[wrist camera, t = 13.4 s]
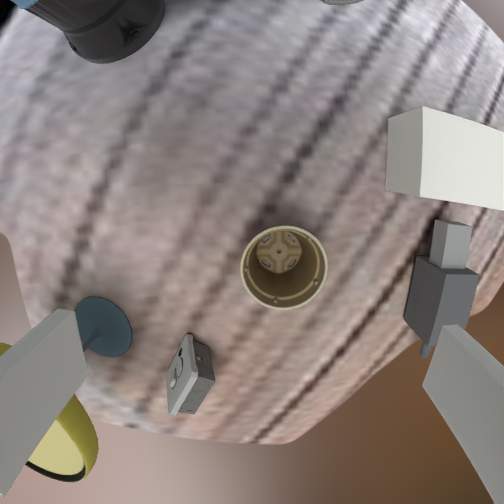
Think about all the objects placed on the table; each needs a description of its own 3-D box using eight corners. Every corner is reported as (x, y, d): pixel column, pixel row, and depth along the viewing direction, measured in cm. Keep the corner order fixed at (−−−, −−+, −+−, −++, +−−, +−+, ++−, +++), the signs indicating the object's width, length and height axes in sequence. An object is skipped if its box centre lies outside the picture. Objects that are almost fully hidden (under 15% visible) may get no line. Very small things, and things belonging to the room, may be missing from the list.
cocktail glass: (175, 353, 46) (124, 482, 22) (99, 384, 48) (37, 482, 24) (110, 253, 42) (-7, 332, 18) (41, 301, 44) (-55, 375, 20)
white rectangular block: (387, 118, 37) (422, 106, 27) (482, 142, 37) (524, 141, 27) (384, 190, 39) (419, 196, 29) (479, 204, 39) (520, 213, 29)
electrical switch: (187, 330, 45) (179, 368, 36) (219, 343, 46) (217, 383, 37) (166, 372, 47) (156, 412, 38) (195, 384, 48) (190, 424, 39)
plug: (421, 216, 39) (454, 227, 31) (453, 219, 39) (487, 230, 31) (397, 345, 44) (418, 374, 36) (427, 342, 44) (450, 369, 36)
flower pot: (257, 204, 40) (258, 212, 32) (324, 229, 41) (341, 244, 32) (233, 270, 42) (227, 294, 34) (298, 292, 43) (307, 320, 35)
